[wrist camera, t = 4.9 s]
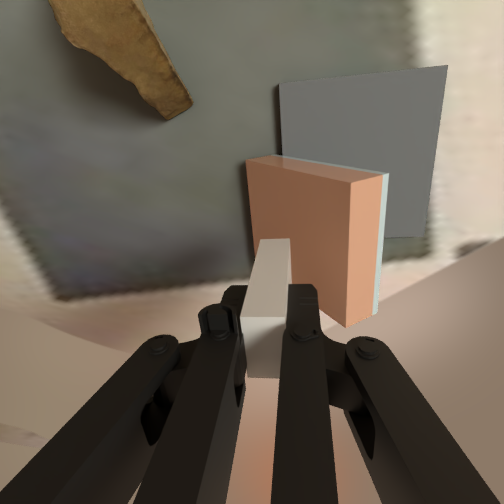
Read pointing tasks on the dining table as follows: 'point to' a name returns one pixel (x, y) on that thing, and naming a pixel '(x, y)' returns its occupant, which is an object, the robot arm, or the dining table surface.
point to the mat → (372, 132)
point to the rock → (125, 47)
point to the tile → (324, 228)
